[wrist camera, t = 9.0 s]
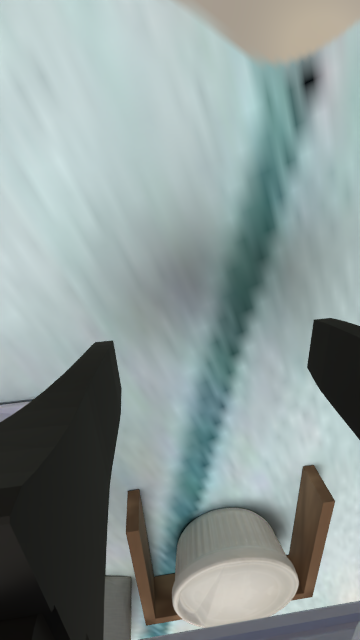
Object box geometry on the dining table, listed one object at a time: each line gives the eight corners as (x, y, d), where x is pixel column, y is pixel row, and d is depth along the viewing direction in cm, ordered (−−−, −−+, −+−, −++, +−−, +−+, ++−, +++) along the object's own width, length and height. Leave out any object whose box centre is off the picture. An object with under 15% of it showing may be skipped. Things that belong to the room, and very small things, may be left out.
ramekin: (150, 523, 30) (151, 590, 25) (259, 482, 29) (282, 543, 24) (192, 578, 34) (200, 642, 30) (287, 544, 34) (310, 604, 29)
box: (145, 583, 34) (146, 625, 30) (127, 491, 27) (125, 532, 24) (296, 558, 35) (312, 596, 32) (313, 465, 28) (334, 501, 25)
